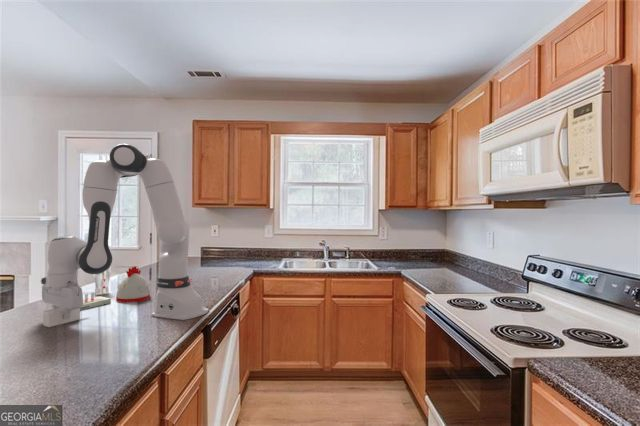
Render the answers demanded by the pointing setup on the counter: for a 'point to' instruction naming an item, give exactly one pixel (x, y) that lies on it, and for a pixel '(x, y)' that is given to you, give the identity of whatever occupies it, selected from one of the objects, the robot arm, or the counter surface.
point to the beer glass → (102, 282)
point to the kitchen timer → (133, 287)
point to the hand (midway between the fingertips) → (62, 317)
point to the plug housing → (60, 316)
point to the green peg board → (95, 300)
